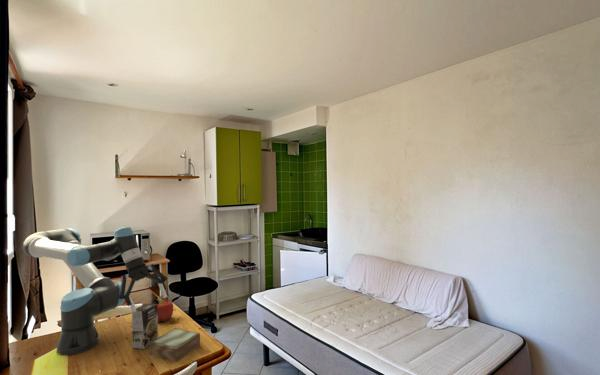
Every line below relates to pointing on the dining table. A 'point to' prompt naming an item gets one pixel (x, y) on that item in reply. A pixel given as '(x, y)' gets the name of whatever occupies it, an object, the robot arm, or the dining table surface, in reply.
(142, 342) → the coffee box
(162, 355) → the brown and green tray
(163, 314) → the vegetable
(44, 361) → the dining table surface
